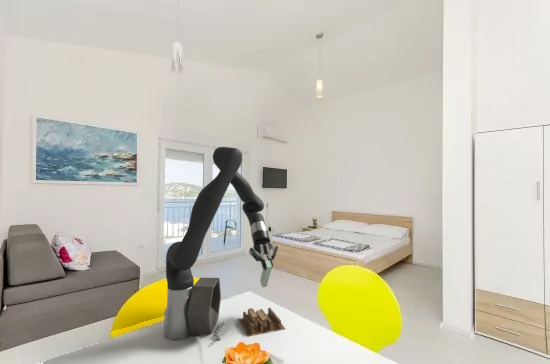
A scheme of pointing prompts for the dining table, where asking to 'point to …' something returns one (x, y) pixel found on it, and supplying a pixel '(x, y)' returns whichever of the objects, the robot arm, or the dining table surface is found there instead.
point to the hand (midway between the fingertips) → (268, 268)
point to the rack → (261, 324)
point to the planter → (204, 306)
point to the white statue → (217, 334)
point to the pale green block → (266, 274)
